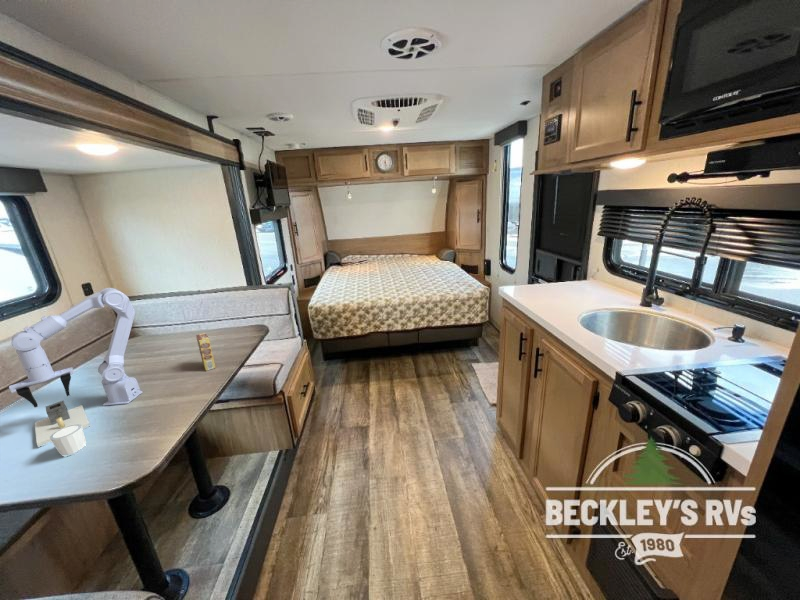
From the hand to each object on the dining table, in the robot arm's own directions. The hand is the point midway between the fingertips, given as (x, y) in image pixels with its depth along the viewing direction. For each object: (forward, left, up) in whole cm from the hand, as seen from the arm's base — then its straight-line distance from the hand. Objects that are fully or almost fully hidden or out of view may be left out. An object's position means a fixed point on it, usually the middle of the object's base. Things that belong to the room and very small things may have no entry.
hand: (52, 400), depth 107 cm
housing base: (-3, +3, -9) cm, 10 cm away
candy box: (-33, -35, -9) cm, 49 cm away
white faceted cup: (-19, +16, -9) cm, 26 cm away
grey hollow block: (0, 0, -7) cm, 7 cm away
